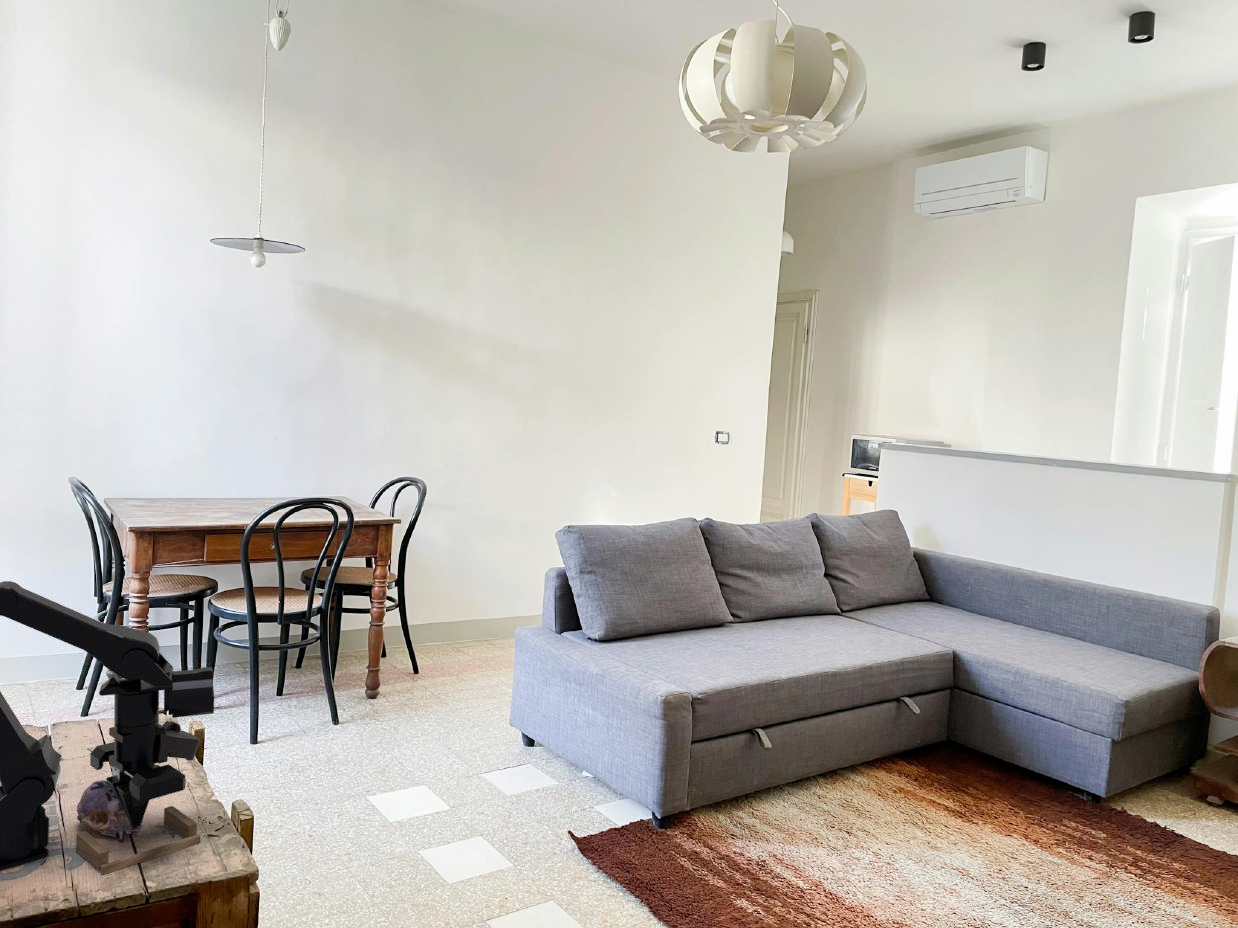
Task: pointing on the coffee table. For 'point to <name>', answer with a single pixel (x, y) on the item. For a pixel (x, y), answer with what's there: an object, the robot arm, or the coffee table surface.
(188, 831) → the rail notch
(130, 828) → the skull
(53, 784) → the robot arm
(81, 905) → the coffee table surface
